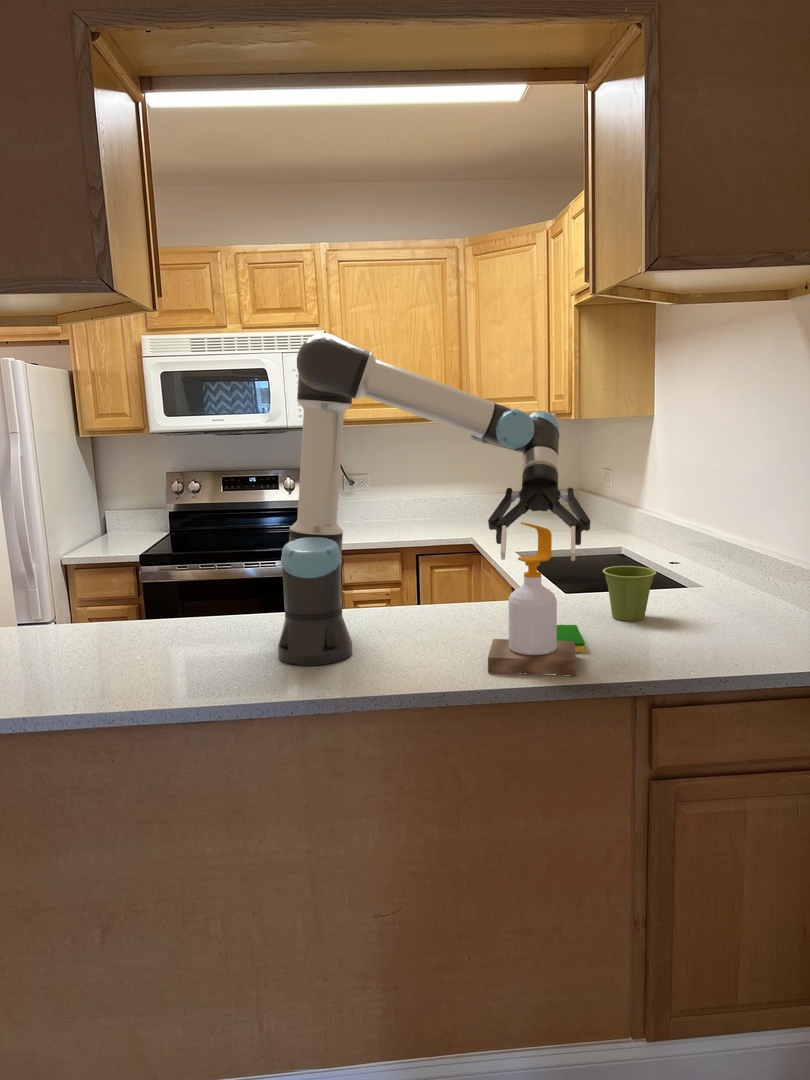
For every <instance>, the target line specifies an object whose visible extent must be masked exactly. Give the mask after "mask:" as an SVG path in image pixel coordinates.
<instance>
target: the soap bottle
mask: <svg viewBox="0 0 810 1080" xmlns="http://www.w3.org/2000/svg"><path fill="white" fill-rule="evenodd" d="M520 525H523V526H527V527H529V528H530V527H531V528H534V529H535V530H536V531H537V552H536V554H534V555H528V556H519V557H518V561H521V562H524V563H525V564H524V565H525V566H526V567H527V568H528V569H527V571H525V572H524V573H523V584H522V585H521V586H519V587H517V588H516V589H514V591H512V592H511V593H510V594H509V597H508V639H509V649H510V650H512V651H513V652H516V653H518V654H523V655H532V656H536V655H546V654H549V653H552V652H554V651H555V650H556V648H557V625H558V623H557V622H558V620H557V619H558V618H557V617H558V612H557V611H558V602H557V597H556V595H555V593H554V592H553V591H551V590H550V588H547V587H546V586H544V585H543V583H542V572H539V571H538V566H541V562H547V561H549V560H550V559H551V558H552V548H553V547H552V538H553V537H552V532H551V530H550V529H549V528H547V527H543V526H540V525H539V526H538V525H535V524H532V523H527V522H524V521H523V522H522V521H521V522H520Z"/></svg>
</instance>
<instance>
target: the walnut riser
mask: <svg viewBox="0 0 810 1080" xmlns="http://www.w3.org/2000/svg"><path fill="white" fill-rule="evenodd" d="M576 669H577V657H576V653H575V643H574V641H557V648H556V650H555V651H554V652H552V653H549V654H546V655H536V656H532V655H523V654H518V653H516V652H513V651H512V650H510V649H509V638H493V639H492V642H491V645H490V649H489V653H488V656H487V673H488V672H493V673H492V674H503V673H522V674H521V675H528V674H556V675H571V676H570V677H576V676H577V670H576ZM524 673H526V674H524Z"/></svg>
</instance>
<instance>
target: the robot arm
mask: <svg viewBox="0 0 810 1080" xmlns="http://www.w3.org/2000/svg"><path fill="white" fill-rule="evenodd" d="M296 369H297V373H298V377H297V378H298V379H297V395H296V396H297V397H296V398H297V399H296V401H297V403H298V404H299V405H300V406H301V408H302V409H303V414H302V415H303V417H302V420H303V421H302V434H301V435H302V436H301V450H300V467H299V468H300V469H299V482H298V483H299V485H298V486H299V488H298V499H297V500H298V501H297V502H298V503H297V520H296V521H295V522H294V523H293V524H292V525H291V526H290V527H289V536H288V539H289V540H288V542H287V543H285V544H284V546H283V548H282V550H281V557H280V564H281V567H282V581H283V582H282V585H283V599H284V600H283V603H284V622H283V623H284V624H283V627H282V630H281V634H280V638H279V642H278V645H277V654H278V656H277V657H278V659H279V660H280V661H282V662H284V663H286V664H290V665H294V666H295V665H297V666H322V665H327V664H334V663H338V662H340V661H343V660H346V659H348V658H349V657H351V656H352V654H353V642H352V639H351V636H350V633H349V630H348V628H347V627H348V626H347V625H346V621H345V619H344V617H343V602H342V601H343V599H342V596H343V595H342V576H341V575H342V573H341V572H342V569H341V568H342V560H343V559H342V558H343V557H342V556H343V555H342V552H343V551H342V550H343V540H344V539H343V535H344V530H343V528H342V527H340V526H339V524H338V510H339V509H338V508H339V507H338V506H339V493H340V481H341V480H340V478H341V465H342V464H341V463H342V462H341V461H342V450H343V449H342V448H343V435H344V434H343V433H344V422H345V421H344V419H345V412H346V411H348V409H349V408H351V407H352V404H353V399H355V400H358V399H360V398H363V397H364V398H367V399H370V400H373V401H376V402H377V403H378V402H379V403H380V404H381V403H382V404H384V405H386V406H390V407H392V408H395V409H398V410H401V411H404V412H406V413H409V414H412V415H415V416H418V417H421V418H423V419H426V420H429V421H432V422H435V423H437V424H440V425H444V426H446V427H448V428H451V429H455V430H457V431H460V432H463V433H466V434H468V435H470V438H471V439H472V440H473V441H477V442H480V443H481V444H486V445H491V446H494V447H499V448H503V449H506V450H511V451H514V452H519V453H521V454H523V455H522V475H521V489H520V490H519V491H518V490H513V488H511V487H507V488H506V491H505V496H504V497H503V498H502V500H501V501H500V502H499V504H498V505H497V507H496V508H495V509H494V511H493V513H492V514H491V515H490V516H489V518H488V519H487V522H488V523H487V524H488V529H489V530H490V531H493V530H494V531H495V532H496V533H495V542H496V544H497V545H500V560H501V561H505V560H506V553H507V552H506V551H507V533H508V532H507V529H508V527H510V526H511V525H512V524H513V523H514V522H515V521H517V520H518V519H519V518H520V517H521V516H522V515H525V514H526V513H527V512H528V511H531V512H538V511H541V512H547V511H550V512H552V513H553V514H554V515H556V516H558V518H560V519H561V520H562V522H563V523H565V524H566V526H568V527H569V528H570V534H571V535H570V550H571V551H570V561H571V562H575V561H576V546H580V545H581V544H582V532H583V531H586V532H589V531H590V529H591V520H590V517H589V516H588V514H587V513H586V512H585V510H584V508H583V507H582V505H581V504H580V502H579V501H578V500H577V498H576V496H575V492H574V488H572V487H568V488H567V490H560V489H559V460H560V459H559V458H560V457H559V447H560V446H559V445H560V427H559V422H558V419H557V417H555V415H553V414H552V413H550V412H548V411H540V412H539V411H534V412H532V413H531V414H528V413H526V412H525V411H522V410H520V409H517V408H515V409H514V408H509V407H507V406H504V405H501V404H499V403H496V402H493V401H491V400H488V399H486V398H483V397H480V396H477V395H474V394H471V393H469V392H466V391H464V390H461V389H459V388H457V387H456V388H455V387H453V386H450V385H447V384H446V383H442V382H439V381H436V380H434V379H430V378H428V377H426V376H423V375H419V374H418V373H415V372H412V371H409V370H406V369H404V368H400V367H398V366H395V365H393V364H390V363H387V362H385V361H383V360H380V359H377V358H376V357H375V356H374V353H373V351H371V350H367V349H365V348H363V347H360V346H359V345H356V344H354V343H352V342H349V341H347V340H345V339H344V338H342V337H341V336H337V335H336V334H332V333H318V334H315V335H313V336H311V337H309V338H308V339H306V340H305V341H304V342H303V343H302V345H301V346H300V348H299V350H298V352H297V356H296ZM516 499H519V501H518V502H517V504H516V505H514V506H513V507H512V508H511V505H512V503H514V502H515V501H516ZM560 499H563V500H564V502H565V503H567V504H568V506H569V508H570V510H571V512H572V513H571V512H570V511H569V510H568V509H567V508H566V507H565V506H563V505H562V504H561V503H560V501H559V500H560ZM510 508H511V509H510ZM509 509H510V510H509ZM508 510H509V511H508ZM573 514H574V515H575V516H574V515H573Z"/></svg>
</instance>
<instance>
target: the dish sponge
mask: <svg viewBox="0 0 810 1080" xmlns="http://www.w3.org/2000/svg"><path fill="white" fill-rule="evenodd" d="M557 641H574V643H575V652H584V653H585V651H586V648H585V645H586V643H585V641H584V639H583V636H582V634H581V632H580V630H579V627H578V625H577V624H557Z"/></svg>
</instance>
